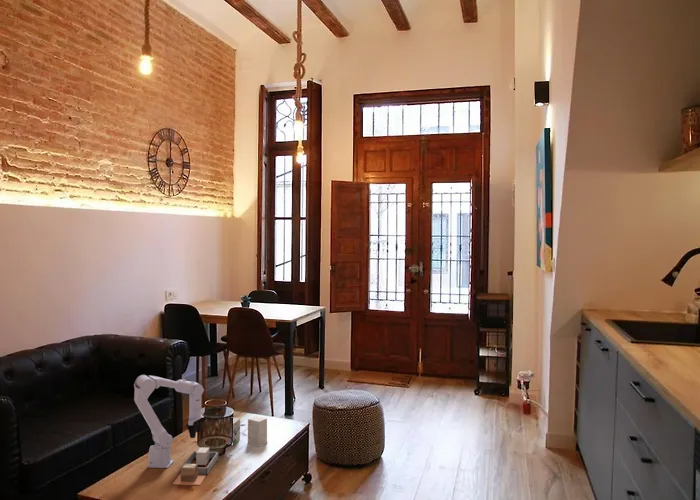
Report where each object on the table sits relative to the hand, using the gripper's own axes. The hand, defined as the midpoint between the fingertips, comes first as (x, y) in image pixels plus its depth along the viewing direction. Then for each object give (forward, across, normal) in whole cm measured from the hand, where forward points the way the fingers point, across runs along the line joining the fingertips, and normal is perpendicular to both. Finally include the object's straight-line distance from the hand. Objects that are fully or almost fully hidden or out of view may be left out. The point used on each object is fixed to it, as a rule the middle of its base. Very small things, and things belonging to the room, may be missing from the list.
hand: (195, 434), depth 267 cm
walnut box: (+10, -26, -6) cm, 28 cm away
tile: (+10, -26, -6) cm, 29 cm away
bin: (+10, -11, -6) cm, 16 cm away
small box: (+11, +18, -27) cm, 34 cm away
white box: (+10, -7, -6) cm, 14 cm away
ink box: (+11, +18, -14) cm, 25 cm away
